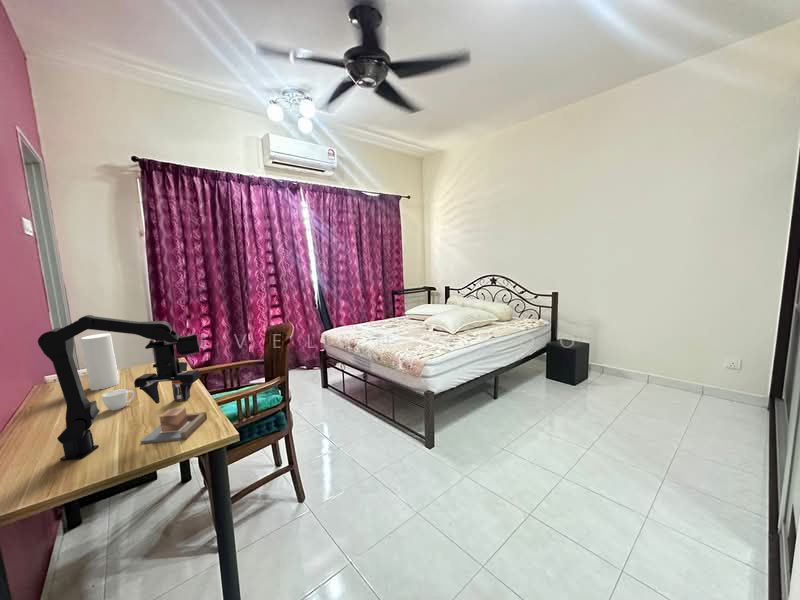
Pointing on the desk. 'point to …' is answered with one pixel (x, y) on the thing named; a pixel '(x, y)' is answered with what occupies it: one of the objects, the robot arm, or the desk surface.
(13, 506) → the desk surface
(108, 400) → the cup
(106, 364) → the tall pillar cylinder
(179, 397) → the supplement bottle
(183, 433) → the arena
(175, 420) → the cube
